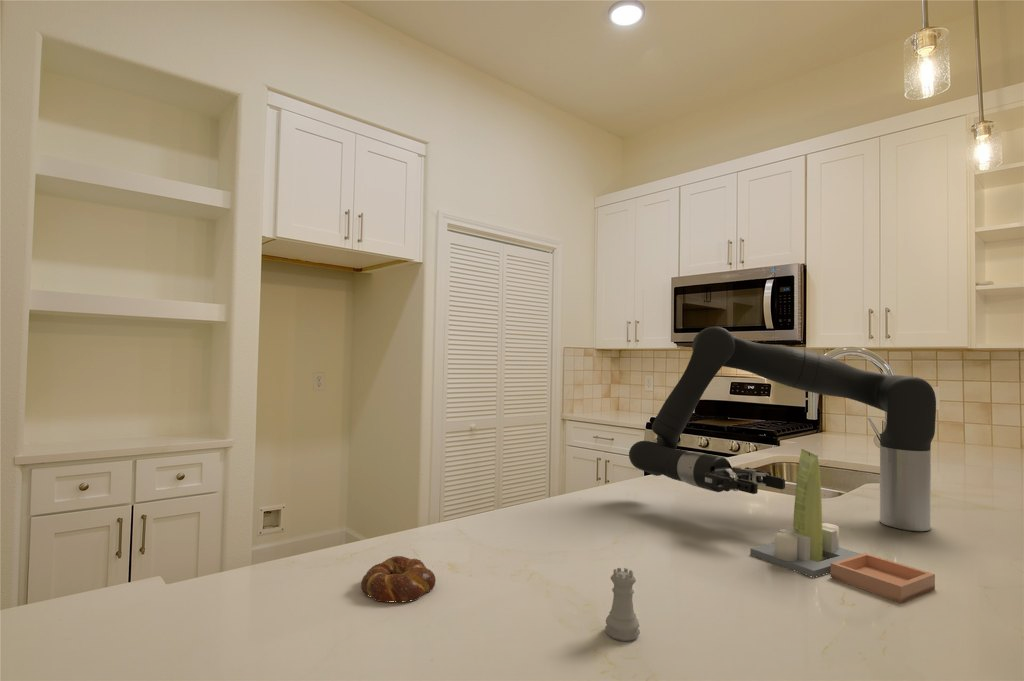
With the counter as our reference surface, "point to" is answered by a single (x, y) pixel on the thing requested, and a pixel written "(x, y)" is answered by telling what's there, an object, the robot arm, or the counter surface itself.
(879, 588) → the tray
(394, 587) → the brown pretzel bun
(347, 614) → the counter surface
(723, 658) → the counter surface
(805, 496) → the tube
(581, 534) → the counter surface
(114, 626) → the counter surface
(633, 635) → the rook chess piece
